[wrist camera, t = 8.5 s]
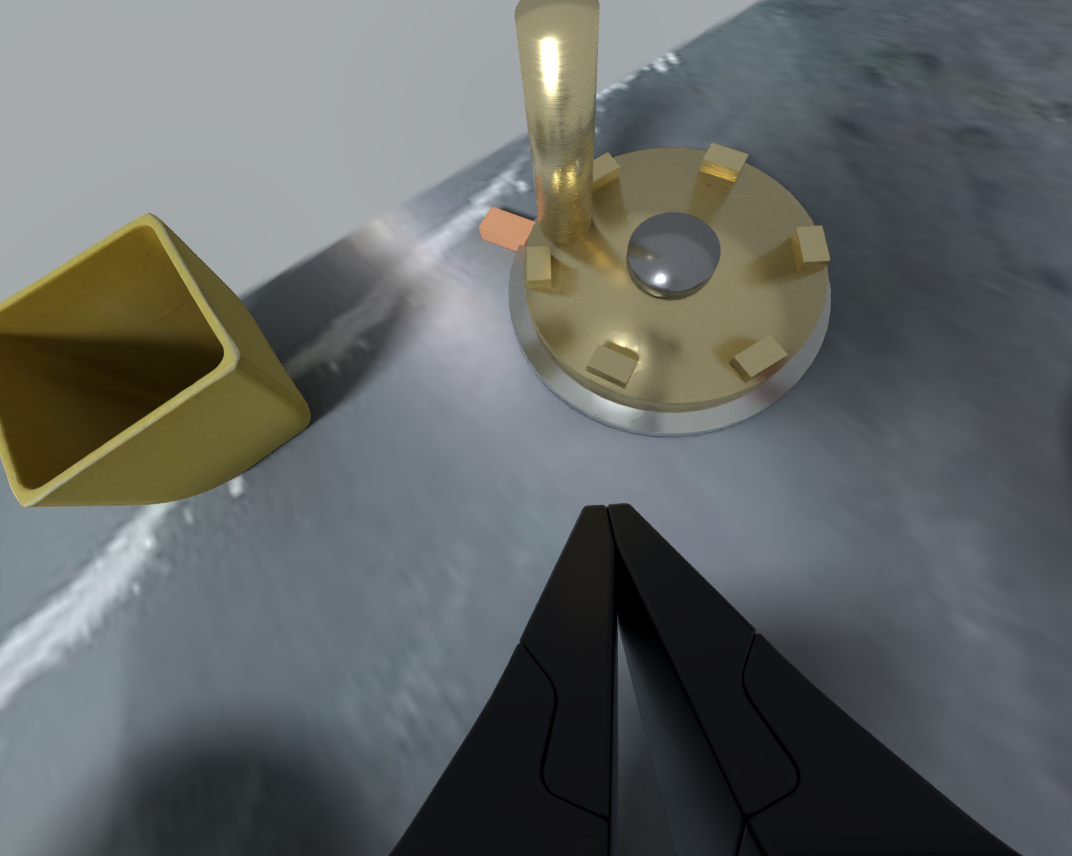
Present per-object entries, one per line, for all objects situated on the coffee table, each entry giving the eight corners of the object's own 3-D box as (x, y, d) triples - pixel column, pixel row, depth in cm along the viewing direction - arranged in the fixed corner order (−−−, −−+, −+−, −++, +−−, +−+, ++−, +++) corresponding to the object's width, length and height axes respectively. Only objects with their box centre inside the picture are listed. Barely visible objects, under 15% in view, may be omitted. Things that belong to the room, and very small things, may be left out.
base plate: (779, 486, 21) (817, 472, 18) (463, 376, 25) (445, 346, 21) (852, 209, 25) (893, 155, 22) (572, 145, 29) (571, 90, 25)
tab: (538, 234, 27) (536, 222, 26) (525, 255, 26) (523, 243, 26) (494, 218, 27) (491, 206, 27) (482, 238, 27) (478, 227, 26)
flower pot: (360, 430, 24) (240, 358, 16) (221, 531, 23) (12, 512, 15) (287, 320, 27) (150, 206, 18) (159, 408, 26) (-50, 330, 17)
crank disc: (852, 225, 24) (1071, -45, 13) (744, 465, 21) (918, 364, 10) (602, 140, 27) (617, -130, 17) (476, 337, 24) (394, 160, 14)
